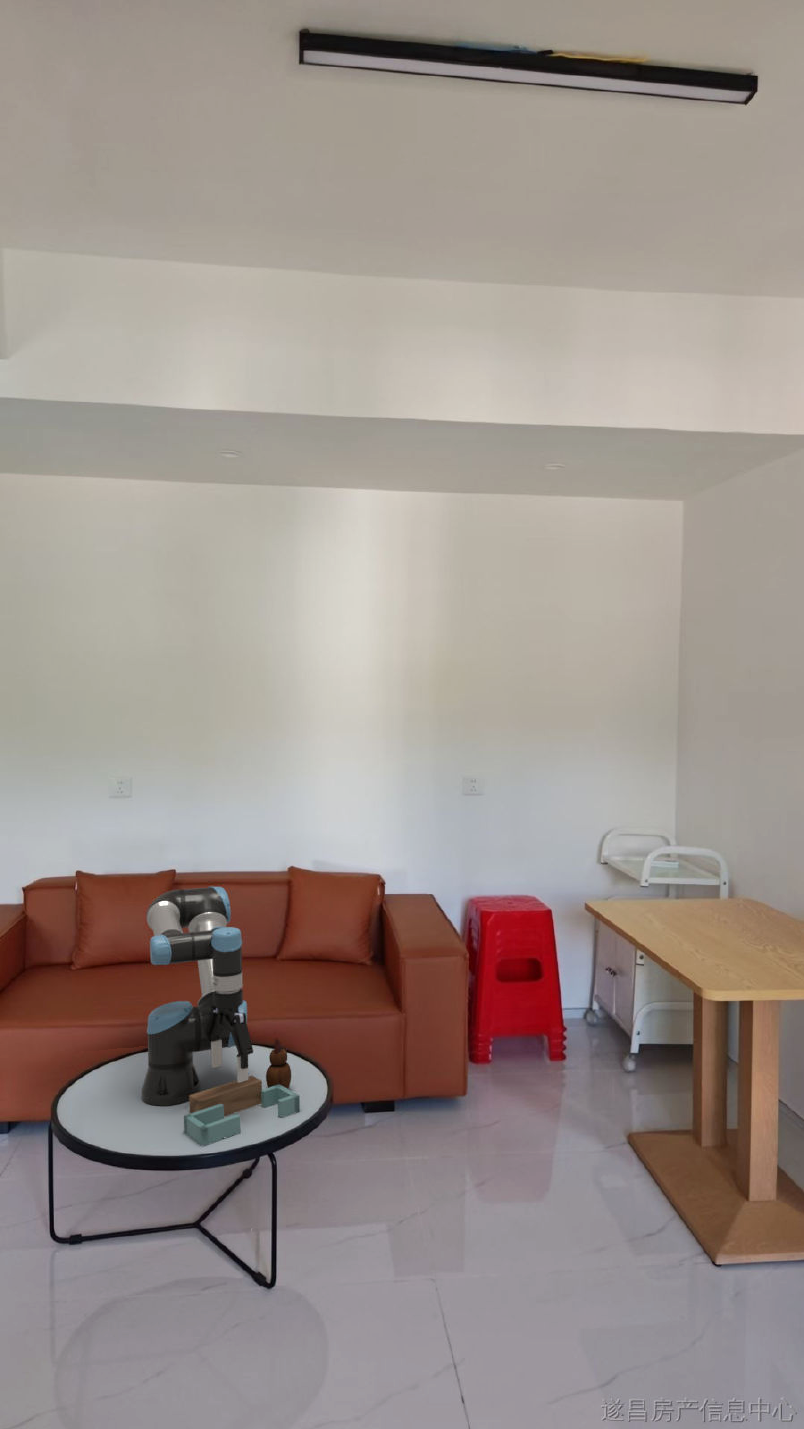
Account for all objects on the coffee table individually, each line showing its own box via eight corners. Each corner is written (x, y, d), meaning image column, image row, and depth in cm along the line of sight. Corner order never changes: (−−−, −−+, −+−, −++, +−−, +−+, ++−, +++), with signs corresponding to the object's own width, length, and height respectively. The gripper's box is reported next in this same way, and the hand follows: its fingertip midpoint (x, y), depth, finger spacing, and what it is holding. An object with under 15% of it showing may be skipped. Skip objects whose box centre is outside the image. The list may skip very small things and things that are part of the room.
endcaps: (184, 1132, 208) (183, 1115, 208) (279, 1099, 225) (279, 1084, 225) (202, 1146, 201) (202, 1129, 201) (299, 1111, 218) (299, 1095, 218)
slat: (189, 1119, 215) (189, 1095, 216) (252, 1098, 227) (251, 1075, 227) (199, 1126, 212) (198, 1101, 212) (262, 1104, 223) (261, 1080, 223)
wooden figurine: (279, 1098, 226) (278, 1041, 226) (262, 1094, 229) (261, 1037, 229) (295, 1089, 231) (294, 1033, 232) (279, 1085, 234) (277, 1030, 235)
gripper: (192, 983, 228) (193, 1063, 227) (239, 1003, 209) (241, 1091, 208) (217, 977, 232) (219, 1056, 232) (265, 996, 213) (267, 1082, 213)
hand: (229, 1073), depth 220 cm, fingers open, 13 cm apart
